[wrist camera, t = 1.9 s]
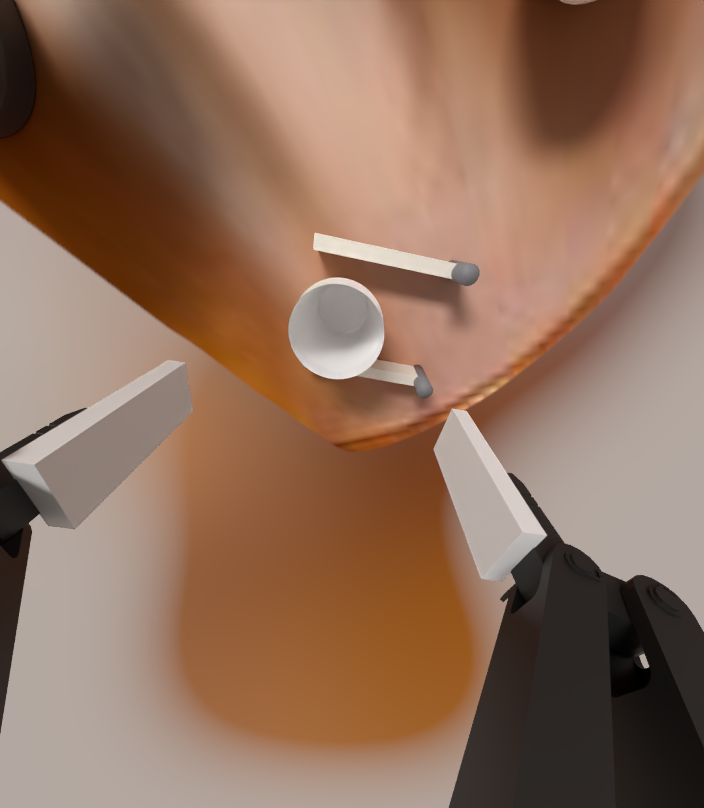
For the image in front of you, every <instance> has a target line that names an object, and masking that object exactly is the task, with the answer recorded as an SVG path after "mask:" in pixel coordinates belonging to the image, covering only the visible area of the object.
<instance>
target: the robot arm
mask: <svg viewBox="0 0 704 808" xmlns="http://www.w3.org/2000/svg"><path fill="white" fill-rule="evenodd" d="M34 93H35V79H34V68H33V62H32V57H31V52H30V48H29V44H28V41H27V37H26V34H25V31H24V28H23V25H22V22H21V20H20V17H19V14H18V12H17V10H16V7H15V5H14V3H13V1H12V0H0V138H3V137H7V136H10V135H12V134H14V133H15V132H17V131H18V130H20V129H21V128H22V127H23V125H24V124H25V123H26V121H27V119H28V118H29V116H30V113H31V110H32V106H33V102H34ZM192 412H193V406H192V400H191V395H190V388H189V382H188V376H187V370H186V364H185V363H184V362H178V361H172V360H167V361H166V362H164V363H162V364H161V365H159V366H157V367H156V368H154V369H152V370H151V371H149V372H147V373H146V374H144V375H142V376H141V377H139V378H137V379H136V380H134V381H132V382H131V383H129V384H127V385H126V386H124V387H122V388H120V389H119V390H117V391H115V392H114V393H112V394H110V395H109V396H107V397H105V398H104V399H102V400H101V401H99V402H98V403H96V404H94V405H92V406H90V407H89V408H83V409H80V410H78V411H75V412H72V413H69V414H66V415H64V416H62V417H61V418H59V419H57V420H55V421H54V422H52V423H50V425H49V426H45V427H43V428H42V429H40V430H38V431H36V434H31V435H29V436H28V437H26V438H24V439H22V440H21V441H19V442H17V443H16V444H14V445H12V446H10V447H9V448H7V449H5V450H3V451H2V452H0V732H1V725H2V719H3V713H4V706H5V700H6V694H7V687H8V681H9V674H10V668H11V662H12V655H13V649H14V643H15V636H16V630H17V624H18V617H19V611H20V605H21V598H22V591H23V586H24V579H25V573H26V566H27V560H28V554H29V547H30V541H31V535H32V530H31V526H30V525H29V522H30V521H31V520H33V519H34V518H35V517H36V516H37V515H38V514H40V515H41V517H42V518H43V519H44V521H45V522H46V524H47V525H48V526H53V527H61V528H69V529H75V528H76V527H78V526H79V525H80V524H81V523H82V522H83V521H84V520H85V519H86V518H87V517H88V516H89V515H90V514H91V513H92V512H93V511H94V510H95V509H96V508H97V507H98V506H99V505H100V504H101V503H102V502H103V501H104V500H105V499H106V498H107V497H108V496H109V495H110V494H111V492H113V491H114V490H115V489H116V488H117V487H118V486H119V485H120V484H121V483H122V481H124V480H125V479H126V478H127V477H128V476H129V475H130V474H131V473H132V472H133V471H134V470H135V469H136V468H137V467H138V466H139V465H140V464H141V463H142V462H143V461H144V460H145V459H146V458H147V457H148V455H150V454H151V453H152V452H153V451H154V450H155V449H156V448H157V446H159V445H160V444H161V443H162V442H163V441H164V440H165V439H166V438H167V437H168V435H170V434H171V433H172V432H173V431H174V430H175V429H176V428H177V427H178V426H179V425H180V424H181V423H182V422H183V421H184V420H185V419H186V418H187V417H188V416H189V415H190V414H191V413H192ZM434 452H435V455H436V457H437V460H438V463H439V465H440V468H441V471H442V474H443V476H444V479H445V482H446V485H447V487H448V490H449V493H450V496H451V498H452V501H453V504H454V507H455V509H456V512H457V515H458V518H459V520H460V523H461V526H462V529H463V531H464V534H465V537H466V539H467V542H468V545H469V548H470V550H471V553H472V556H473V559H474V561H475V564H476V567H477V569H478V572H479V575H480V578H481V579H487V580H495V581H503V580H504V579H505V577H506V576H507V575H509V573H510V572H511V573H512V575H513V578H514V580H515V582H516V583H515V584H514V585H513V586H512V587H511V588H510V589H509V590H508V591H507V592H506V593H505V594H504V595H503V596H502V597H501V599H500V600H502V601H503V602H504V601H505V600H506V599H507V598H508V601H507V605H506V609H505V612H504V616H503V619H502V623H501V626H500V630H499V633H498V637H497V640H496V644H495V647H494V651H493V654H492V658H491V661H490V665H489V668H488V672H487V675H486V679H485V682H484V686H483V689H482V693H481V696H480V700H479V703H478V707H477V711H476V714H475V717H474V721H473V724H472V728H471V731H470V735H469V739H468V742H467V746H466V750H465V753H464V756H463V760H462V763H461V767H460V770H459V774H458V777H457V781H456V784H455V788H454V791H453V795H452V798H451V802H450V805H449V808H704V632H703V630H702V629H701V627H700V625H699V623H698V621H697V620H696V618H695V616H694V615H693V614H692V612H691V611H690V609H689V608H688V607H687V605H686V604H685V603H684V602H683V601H682V600H681V599H680V598H679V597H678V596H677V595H676V594H675V593H674V592H672V591H671V590H669V588H667V587H666V586H664V585H663V584H661V583H659V582H658V581H656V580H654V579H652V578H649V577H647V576H644V575H636V576H635V577H633V578H632V579H630V580H628V581H627V582H625V581H622V580H620V579H618V578H616V577H613V576H611V575H608V574H606V573H604V572H602V571H601V570H600V569H599V567H598V566H597V565H596V564H595V562H594V561H593V560H592V559H591V558H590V557H589V556H587V555H586V554H585V553H583V552H582V551H581V550H579V549H577V548H575V547H573V546H571V545H568V544H565V543H564V542H563V540H562V539H561V538H560V536H559V535H558V533H557V532H556V530H555V529H554V527H553V526H552V525H551V523H550V521H549V520H548V519H547V517H546V516H545V514H544V513H543V511H542V510H541V508H540V507H538V504H537V503H536V501H535V500H534V498H533V497H531V494H530V493H529V491H528V490H527V488H526V487H525V485H524V484H523V483H522V482H521V481H520V480H519V479H518V478H517V477H516V476H514V475H513V474H512V473H506V471H505V470H504V468H503V467H502V465H501V464H500V462H499V461H498V459H497V457H496V456H495V454H494V453H493V451H492V450H491V448H490V447H489V445H488V443H487V442H486V440H485V439H484V437H483V436H482V434H481V433H480V431H479V430H478V428H477V427H476V425H475V424H474V422H473V420H472V419H471V417H470V416H469V414H468V413H467V411H463V410H457V409H452V410H451V412H450V414H449V417H448V419H447V421H446V423H445V425H444V428H443V430H442V432H441V434H440V437H439V438H438V441H437V443H436V445H435V447H434ZM644 653H645V656H646V659H647V661H648V664H649V668H644V667H643V665H642V663H641V660H640V657H639V655H642V654H644Z"/></svg>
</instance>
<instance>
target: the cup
mask: <svg viewBox="0 0 704 808" xmlns="http://www.w3.org/2000/svg"><path fill="white" fill-rule="evenodd" d="M288 333H289V340H290V344H291V347H292V349H293V351H294V353H295V355H296V357H297V358H298V359H299V361H300V362H301V363H302V364H303V365H304V366H305V367H306V368H307V369H309V370H310V371H312V372H313V373H315V374H317V375H319V376H322V377H325V378H330V379H347V378H351V377H354V376H357V375H359V374H361V373H363V372H364V371H365V370H367V369H368V368H369V367H370V366H371V365H372V364H373V363H374V362H375V361H376V359H377V358H378V356H379V354H380V352H381V349H382V346H383V342H384V320H383V314H382V311H381V308H380V306H379V304H378V302H377V300H376V298H375V297H374V296H373V295H372V293H371V292H370V291H369V290H368V289H367V288H365V287H364V286H363V285H361V284H360V283H358V282H356V281H353V280H350V279H347V278H337V277H336V278H328V279H324V280H321V281H319V282H317V283H315V284H313V285H312V286H311V287H309V288H308V289H307V290H306V291H305V292H304V293H303V294H302V296H301V297H300V299H299V301H298V302H297V304H296V305H295V307H294V309H293V311H292V313H291V316H290V320H289V327H288Z"/></svg>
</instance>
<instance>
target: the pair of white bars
mask: <svg viewBox="0 0 704 808" xmlns="http://www.w3.org/2000/svg"><path fill="white" fill-rule="evenodd" d="M313 250H318V251H322V252H327V253H332V254H336V255H341V256H346V257H351V258H355V259H360V260H365V261H369V262H374V263H379V264H384V265H388V266H393V267H398V268H402V269H407V270H412V271H417V272H421V273H426V274H431V275H435V276H440V277H445V278H446V279H448V280H451V281H454V282H456V283H459V284H461V285H464V286H470V285H472V284H474V283H475V282H476V281H477V279H478V277H479V268H478V267H477V266H476V265H475V264H470V263H464V262H459V261H449V262H447V261H442V260H438V259H433V258H428V257H424V256H419V255H415V254H410V253H405V252H401V251H396V250H392V249H387V248H383V247H378V246H373V245H369V244H364V243H360V242H355V241H350V240H346V239H341V238H337V237H332V236H327V235H323V234H318V233H315V236H314V247H313ZM303 367H305V366H304V365H303ZM357 376H359V377H365V378H371V379H376V380H382V381H388V382H393V383H399V384H405V385H410V386H414V387H415V389H416V392H417V394H418V396H419V397H421V398H427V397H429V396H430V395H431V394H432V393H433V388H432V386H431V384H430V382H429V380H428V378H427V376H426V374H425V372H424V370H423V368H422V367H421V366H419V365H415V366H410V365H405V364H399V363H394V362H389V361H383V360H378V359H376V361H375V362H374V363H373V364H372V365H371V366H370V367H369V368H368V369H367V370H365V371H364V372H363V373H361V374H359V375H357Z"/></svg>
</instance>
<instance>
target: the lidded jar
mask: <svg viewBox="0 0 704 808" xmlns="http://www.w3.org/2000/svg"><path fill="white" fill-rule="evenodd" d="M560 1H562V2H564V3H567V4H573V5H577V4H586V3H590V2H593V1H596V0H560Z"/></svg>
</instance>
